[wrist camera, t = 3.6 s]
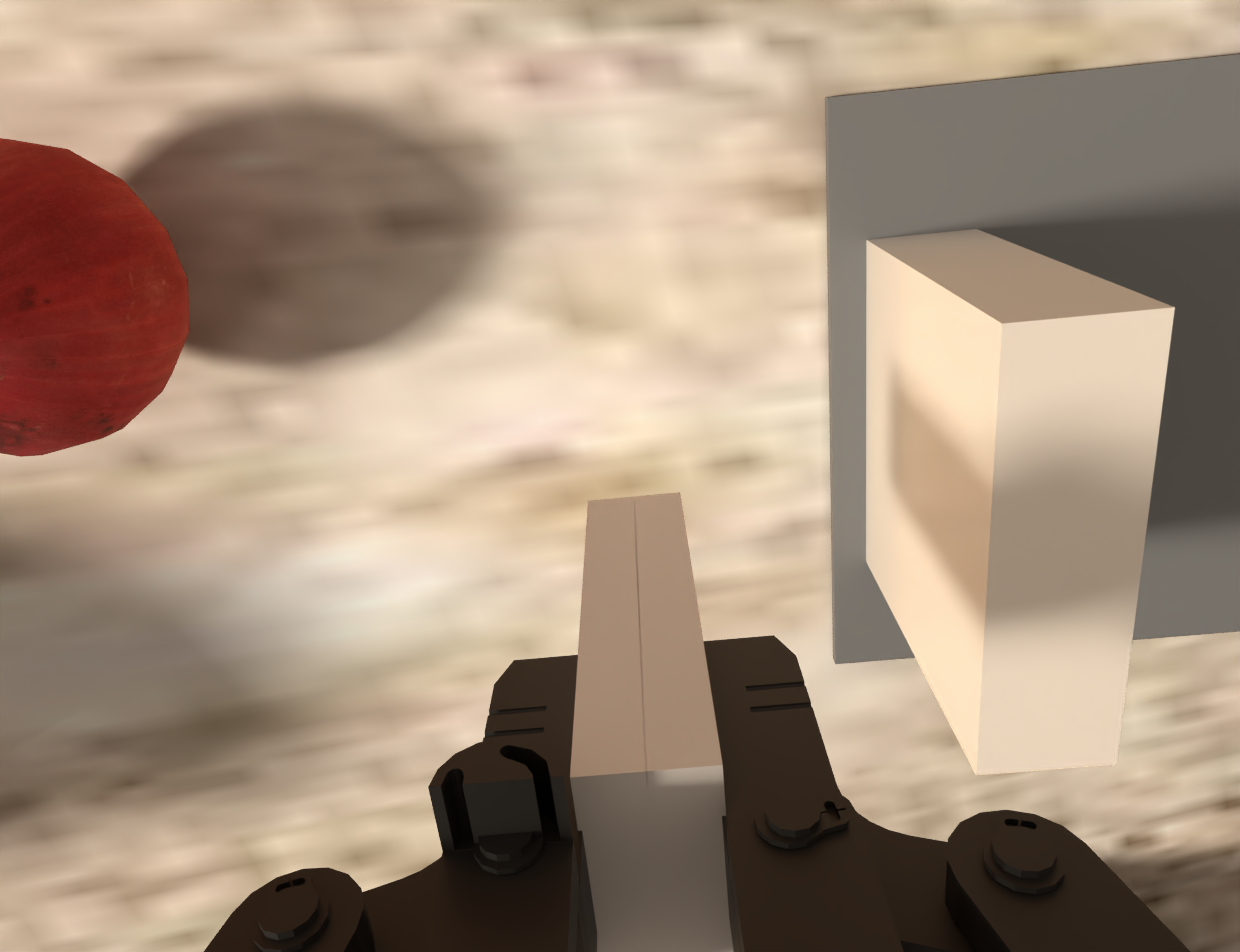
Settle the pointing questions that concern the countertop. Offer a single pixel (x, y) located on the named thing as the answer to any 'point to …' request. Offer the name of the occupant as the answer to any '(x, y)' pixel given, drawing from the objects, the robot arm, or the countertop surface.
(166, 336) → the onion
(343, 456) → the countertop surface
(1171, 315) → the tile
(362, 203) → the countertop surface
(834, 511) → the mat
